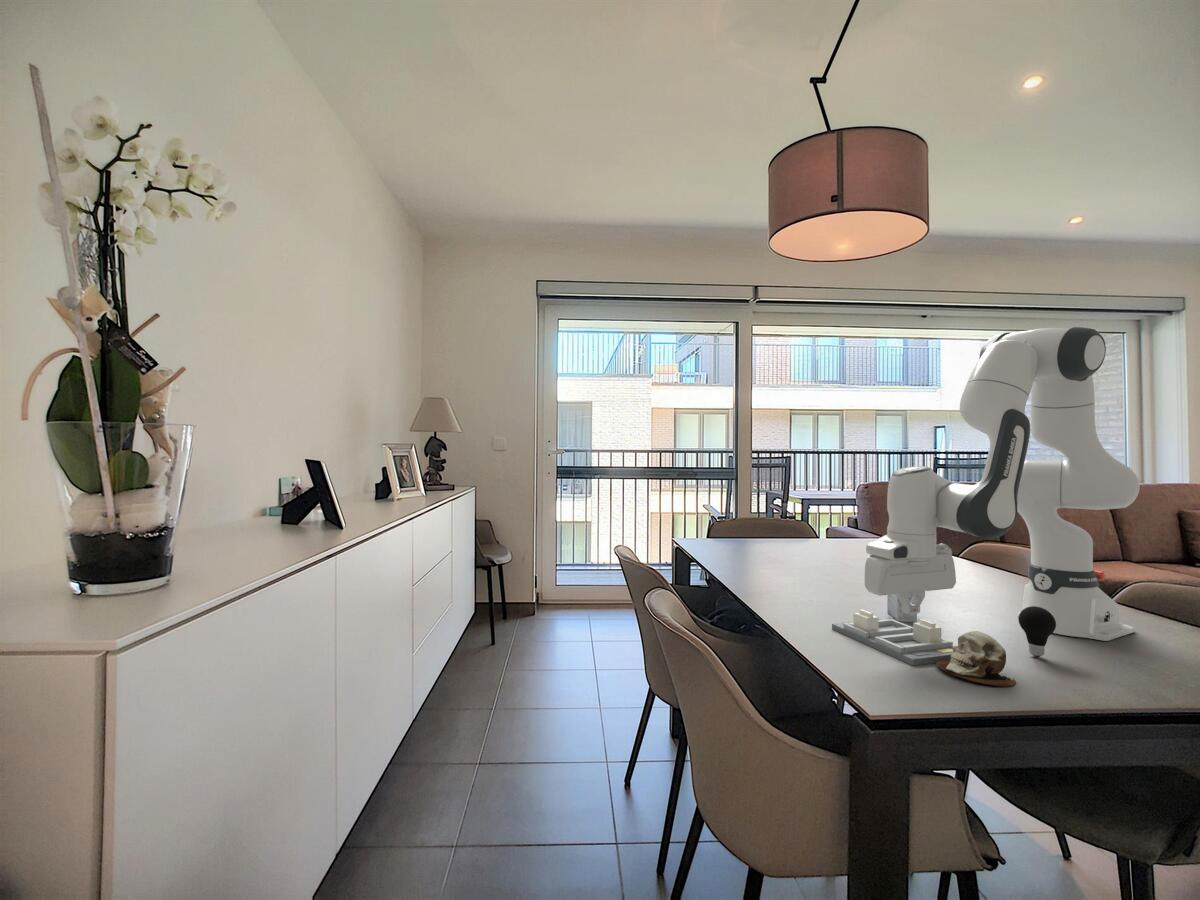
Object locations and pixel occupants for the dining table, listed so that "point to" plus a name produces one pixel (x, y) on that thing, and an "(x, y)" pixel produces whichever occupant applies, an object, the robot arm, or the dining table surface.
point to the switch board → (898, 642)
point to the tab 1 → (865, 621)
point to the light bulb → (1037, 628)
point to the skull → (977, 660)
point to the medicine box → (899, 609)
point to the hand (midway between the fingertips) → (910, 612)
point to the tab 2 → (926, 631)
